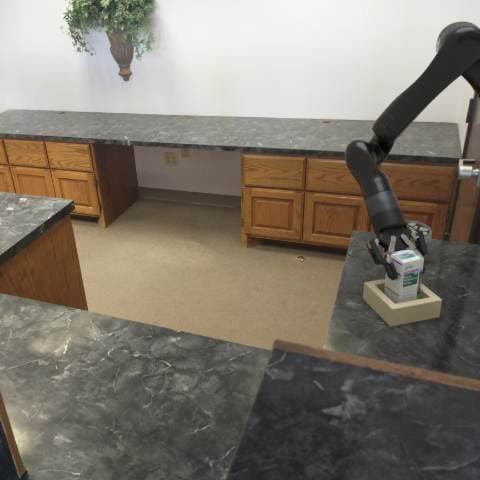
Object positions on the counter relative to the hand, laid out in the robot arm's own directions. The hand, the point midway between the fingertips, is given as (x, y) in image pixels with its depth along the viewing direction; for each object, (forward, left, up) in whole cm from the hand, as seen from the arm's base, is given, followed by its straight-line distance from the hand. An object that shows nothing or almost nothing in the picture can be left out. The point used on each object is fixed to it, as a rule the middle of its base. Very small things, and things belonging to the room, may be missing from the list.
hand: (408, 276), depth 121 cm
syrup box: (-1, -1, -10) cm, 10 cm away
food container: (-26, -10, -10) cm, 29 cm away
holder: (-1, -1, -10) cm, 10 cm away
